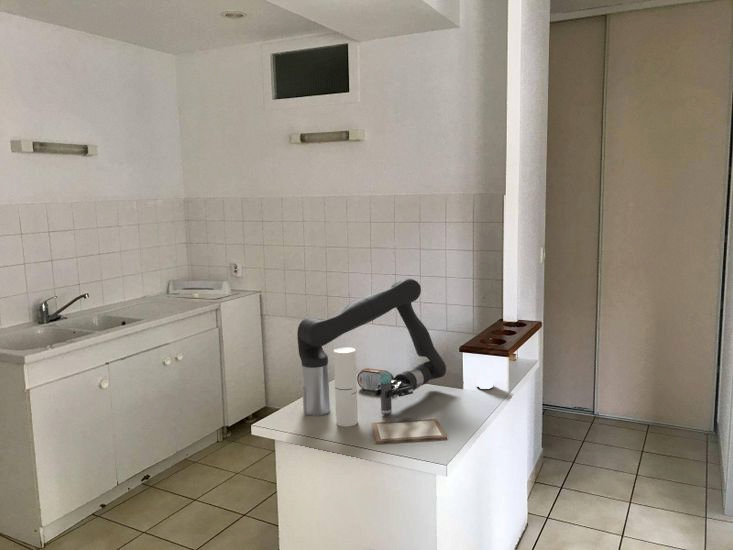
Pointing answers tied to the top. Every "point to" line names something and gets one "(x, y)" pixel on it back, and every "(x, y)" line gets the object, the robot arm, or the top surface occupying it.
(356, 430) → the top surface
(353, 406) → the cylindrical container
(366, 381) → the tin
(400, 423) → the clipboard
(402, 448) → the top surface
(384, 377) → the marker
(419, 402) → the top surface
